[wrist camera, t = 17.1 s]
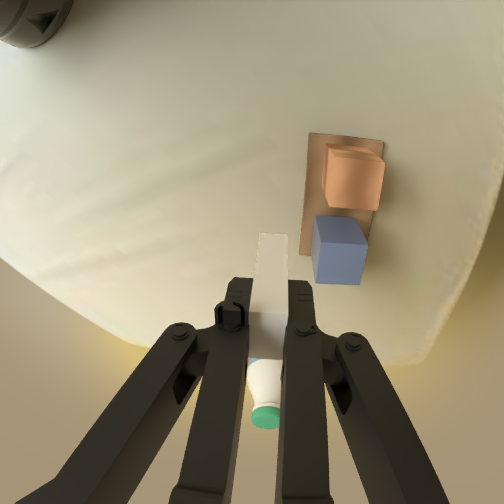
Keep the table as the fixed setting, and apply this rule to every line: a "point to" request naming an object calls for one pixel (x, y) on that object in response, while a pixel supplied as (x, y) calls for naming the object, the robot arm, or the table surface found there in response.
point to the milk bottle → (265, 391)
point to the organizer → (341, 182)
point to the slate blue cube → (338, 250)
